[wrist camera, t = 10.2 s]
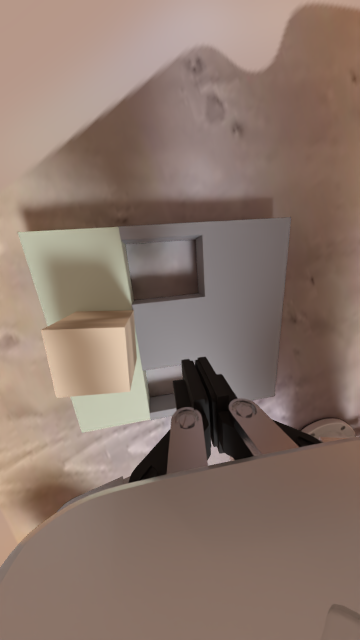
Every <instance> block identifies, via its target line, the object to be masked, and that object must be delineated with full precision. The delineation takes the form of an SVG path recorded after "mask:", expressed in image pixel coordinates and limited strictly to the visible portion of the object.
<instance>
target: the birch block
mask: <svg viewBox="0 0 360 640" xmlns="http://www.w3.org/2000/svg"><path fill="white" fill-rule="evenodd" d="M41 332H42V337H43V341H44V346H45V350H46V354H47V359H48V363H49V368H50V372H51V376H52V381H53V385H54V390H55V394H56V398H60V397H72V396H84V395H96V394H109V393H121V392H130V390H131V385H132V380H133V375H134V370H135V365H136V361H137V352H136V337H135V323H134V310H122V311H76V312H74V313H72V314H70V315H69V316H67V317H65V318H63V319H61V320H59V321H57V322H55V323H54V324H52V325H50V326H48V327H46V328H44V329H42V330H41Z"/></svg>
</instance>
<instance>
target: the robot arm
mask: <svg viewBox="0 0 360 640" xmlns="http://www.w3.org/2000/svg"><path fill="white" fill-rule="evenodd" d="M181 363H182V374H183V380H177V381H173V387H174V396H175V404H176V412H175V413H174V414H173V415H172V419H171V429H170V430H169V431H168V432H167V434H166V435H165V436H164V437H163V438H162V439H161V440H160V441H159V443H158V444H157V445H156V446H155V447H154V448H153V449H152V450H151V451H150V453H149V454H148V455H147V456H146V457H145V458H144V459H143V460H142V462H141V463H140V464H139V465H138V466H137V467H136V468H135V470H134V471H133V472H132V474H131V476H130V477H127V478H125V479H123V476H122V477H120V478H118V479H115V480H113V481H111V482H109V483H107V484H104V485H102V486H100V487H98V488H95V489H93V490H91V491H89V492H87V493H84V494H82V495H80V496H78V497H75V498H73V499H71V500H70V501H68V502H67V503H65V504H64V505H63V506H62V507H61V508H60V509H59V510H58V511H57V513H55V514H54V515H52V516H51V517H49V518H48V519H47V520H45V521H44V522H42V523H41V524H40V525H39V526H37V527H36V528H35V529H34V530H32V531H31V532H30V533H29V534H28V535H27V536H26V537H25V538H24V539H23V540H22V541H21V542H20V543H19V544H18V545H17V547H16V548H15V549H14V550H13V551H12V553H11V554H10V555H9V556H8V558H7V559H6V560H5V562H4V563H3V564H2V566H1V567H0V640H360V436H359V437H356V434H355V432H354V430H353V429H352V427H351V426H349V425H348V424H347V423H345V422H344V421H342V420H340V419H334V418H331V419H323V420H319V421H317V422H314V423H312V424H310V425H308V426H307V427H305V428H304V429H302V430H301V431H299V430H297V429H294V428H292V427H289V426H287V425H284V424H282V423H279V422H277V421H274V420H272V419H271V418H270V417H269V416H268V415H267V414H266V413H265V412H264V411H263V410H262V409H261V408H260V407H259V406H258V405H257V404H255V403H254V402H253V401H251V400H248V399H244V398H237V396H236V395H235V393H234V392H233V390H232V389H231V387H230V386H229V384H228V382H227V381H226V379H225V378H224V376H223V375H222V374H216V373H215V371H214V369H213V368H212V366H211V364H210V363H209V361H208V359H207V358H206V357H199V358H197V360H195V365H194V362H193V361H190V359H184V360H181ZM211 440H212V444H213V446H214V447H215V446H217V448H218V451H219V453H226V454H227V455H229V456H230V461H229V462H224V463H219V464H214V465H210V466H208V463H207V460H208V459H209V457H210V455H211V449H210V447H211Z"/></svg>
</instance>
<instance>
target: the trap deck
mask: <svg viewBox="0 0 360 640" xmlns="http://www.w3.org/2000/svg"><path fill="white" fill-rule="evenodd" d="M290 224H291V217H286V218H267V219H249V220H230V221H211V222H193V223H174V224H156V225H137V226H118V227H105V228H87V229H68V230H50V231H31V232H18V235H19V238H20V241H21V244H22V247H23V251H24V254H25V257H26V260H27V263H28V266H29V269H30V272H31V275H32V279H33V282H34V285H35V288H36V291H37V294H38V297H39V300H40V303H41V307H42V310H43V313H44V316H45V319H46V322H47V325H48V326H50V325H52V324H54V323H55V322H57V321H59V320H61V319H63V318H65V317H67V316H69V315H70V314H72V313H74V312H76V311H122V310H134V323H135V337H136V352H137V361H136V365H135V370H134V375H133V380H132V385H131V390H130V392H121V393H109V394H96V395H84V396H72V397H71V400H72V403H73V406H74V409H75V412H76V416H77V419H78V422H79V425H80V428H81V431H82V433H83V432H88V431H93V430H99V429H104V428H109V427H114V426H119V425H125V424H130V423H135V422H140V421H145V420H150V419H151V420H154V419H159V418H164V417H170V416H172V415H173V414H174V413H175V412H176V404H175V396H174V393H173V394H168V395H162V396H157V397H151V398H150V396H149V390H148V383H147V377H146V371H145V370H151V369H158V368H164V367H170V366H177V365H182V363H181V360H184V359H190V361H193V362H194V363H195V360H197V358H199V357H206V358H207V359H208V361H209V363H210V364H211V366H212V368H213V369H214V371H215V373H216V374H222V375H223V376H224V378H225V379H226V381H227V382H228V384H229V386H230V387H231V389H232V390H233V392H234V393H235V395H236V396H237V398H244V399H248V400H251V401H252V400H257V399H262V398H268V397H273V396H275V387H276V376H277V365H278V354H279V343H280V332H281V322H282V311H283V300H284V289H285V278H286V267H287V256H288V245H289V235H290ZM195 239H196V256H197V275H198V294H189V295H179V296H170V297H160V298H151V299H142V300H134V296H133V290H132V284H131V278H130V272H129V265H128V259H127V253H126V247H125V244H134V243H149V242H165V241H180V240H195Z"/></svg>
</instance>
